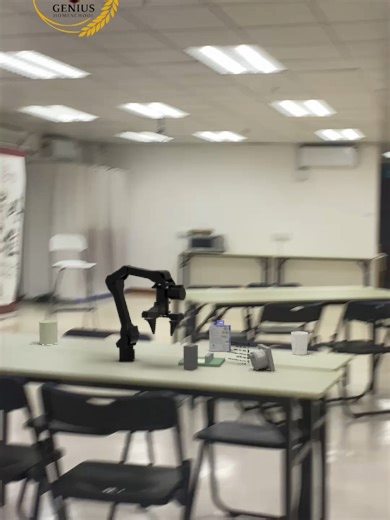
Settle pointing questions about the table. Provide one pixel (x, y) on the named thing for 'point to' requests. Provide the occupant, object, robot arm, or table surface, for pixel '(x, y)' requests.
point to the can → (48, 332)
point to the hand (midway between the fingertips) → (162, 335)
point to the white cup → (299, 342)
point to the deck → (212, 364)
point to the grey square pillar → (190, 357)
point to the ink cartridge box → (219, 337)
